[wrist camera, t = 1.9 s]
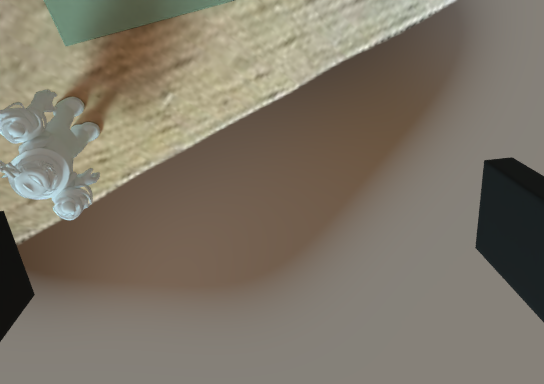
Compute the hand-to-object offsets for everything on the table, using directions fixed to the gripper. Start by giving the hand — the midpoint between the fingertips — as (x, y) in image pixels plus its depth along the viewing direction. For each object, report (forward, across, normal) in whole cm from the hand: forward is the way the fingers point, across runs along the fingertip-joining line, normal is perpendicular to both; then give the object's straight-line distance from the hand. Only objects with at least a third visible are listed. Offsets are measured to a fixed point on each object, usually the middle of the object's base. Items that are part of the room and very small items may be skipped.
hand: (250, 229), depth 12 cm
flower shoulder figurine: (+27, -15, -2) cm, 31 cm away
